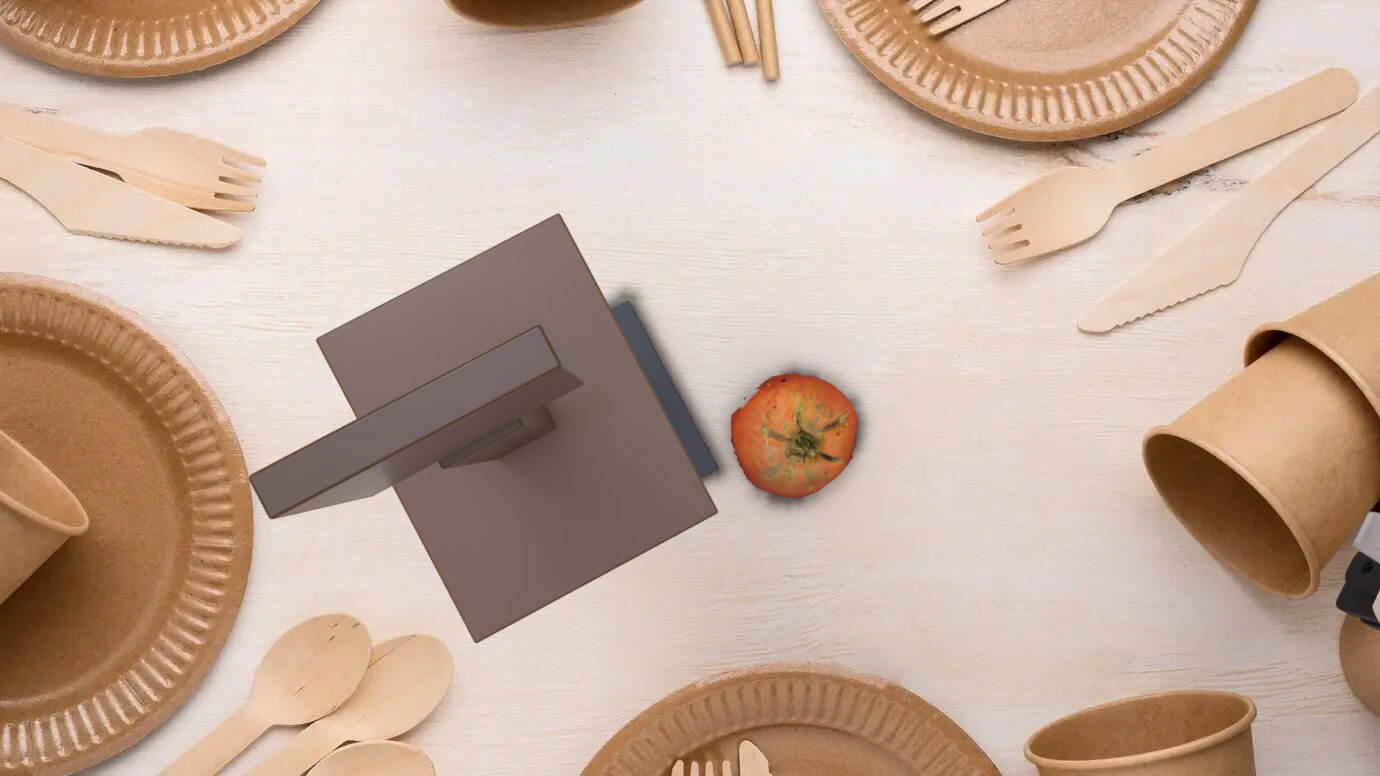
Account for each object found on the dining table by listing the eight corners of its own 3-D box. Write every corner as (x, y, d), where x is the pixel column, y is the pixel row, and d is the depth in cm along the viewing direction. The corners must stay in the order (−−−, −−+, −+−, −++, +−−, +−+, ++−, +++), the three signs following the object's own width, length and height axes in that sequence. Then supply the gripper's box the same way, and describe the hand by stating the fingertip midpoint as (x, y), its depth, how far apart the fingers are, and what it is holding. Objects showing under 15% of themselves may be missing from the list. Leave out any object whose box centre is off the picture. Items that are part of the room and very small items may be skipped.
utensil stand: (717, 468, 67) (915, 575, 17) (549, 558, 66) (237, 947, 16) (628, 301, 67) (564, -79, 17) (460, 390, 66) (-117, 262, 16)
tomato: (720, 506, 65) (750, 429, 60) (713, 422, 70) (741, 344, 65) (842, 519, 67) (882, 445, 61) (828, 436, 71) (864, 361, 66)
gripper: (1577, 687, 22) (1155, 571, 40) (2191, 1036, 22) (1492, 762, 40) (1735, 373, 22) (1246, 400, 41) (2337, 718, 22) (1579, 590, 41)
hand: (1369, 580), depth 40 cm, fingers closed
